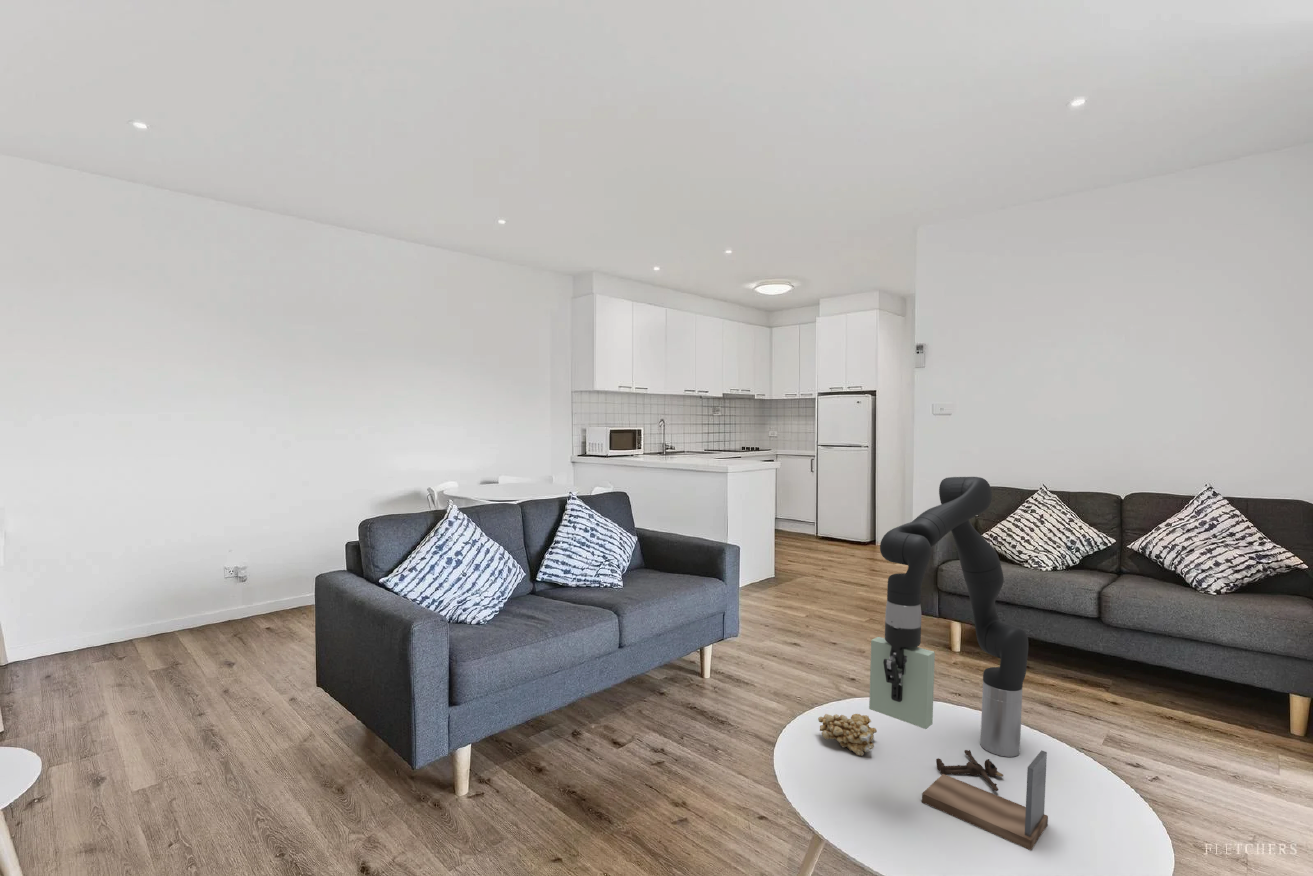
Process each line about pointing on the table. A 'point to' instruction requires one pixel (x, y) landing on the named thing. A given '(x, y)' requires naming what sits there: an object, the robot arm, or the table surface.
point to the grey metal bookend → (1035, 793)
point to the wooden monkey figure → (971, 769)
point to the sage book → (915, 685)
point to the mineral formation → (849, 731)
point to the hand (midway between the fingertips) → (900, 697)
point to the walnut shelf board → (982, 810)
